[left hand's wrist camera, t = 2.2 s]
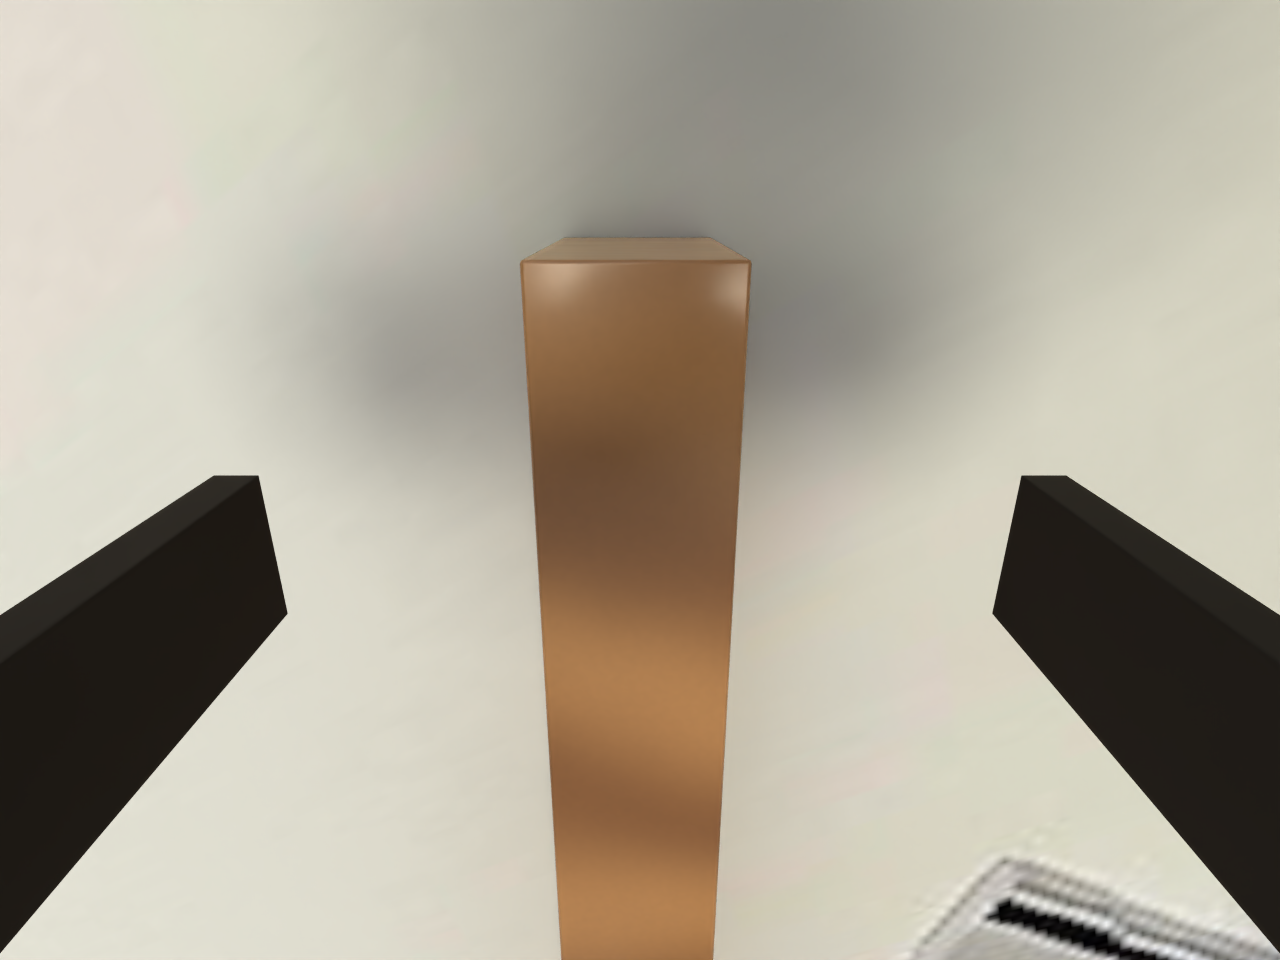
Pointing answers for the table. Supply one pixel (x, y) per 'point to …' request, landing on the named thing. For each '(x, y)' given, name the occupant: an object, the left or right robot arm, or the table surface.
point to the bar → (636, 575)
